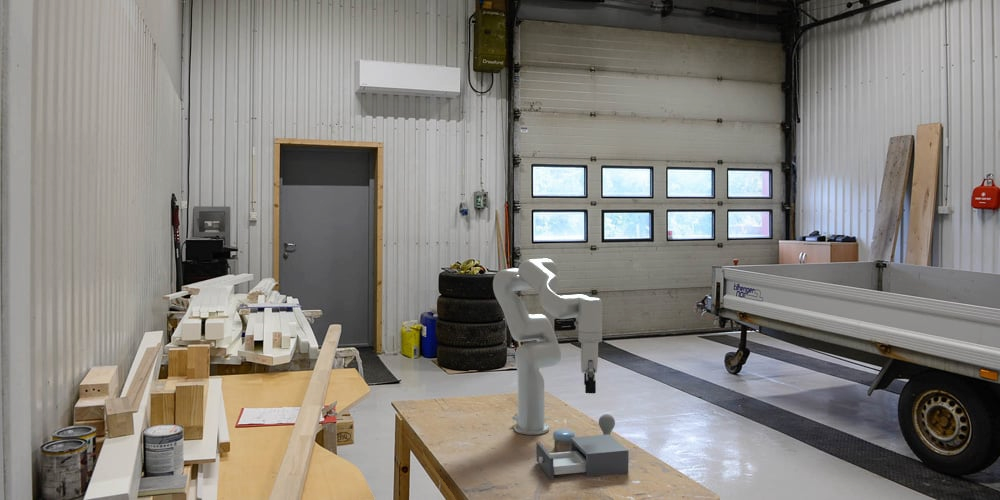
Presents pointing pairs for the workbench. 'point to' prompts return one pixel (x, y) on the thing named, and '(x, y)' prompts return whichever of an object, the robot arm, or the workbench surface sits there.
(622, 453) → the box
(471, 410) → the workbench surface
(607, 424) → the light bulb
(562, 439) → the pale blue dome cap
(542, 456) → the grey drawer
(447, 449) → the workbench surface
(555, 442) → the brown block
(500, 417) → the workbench surface
